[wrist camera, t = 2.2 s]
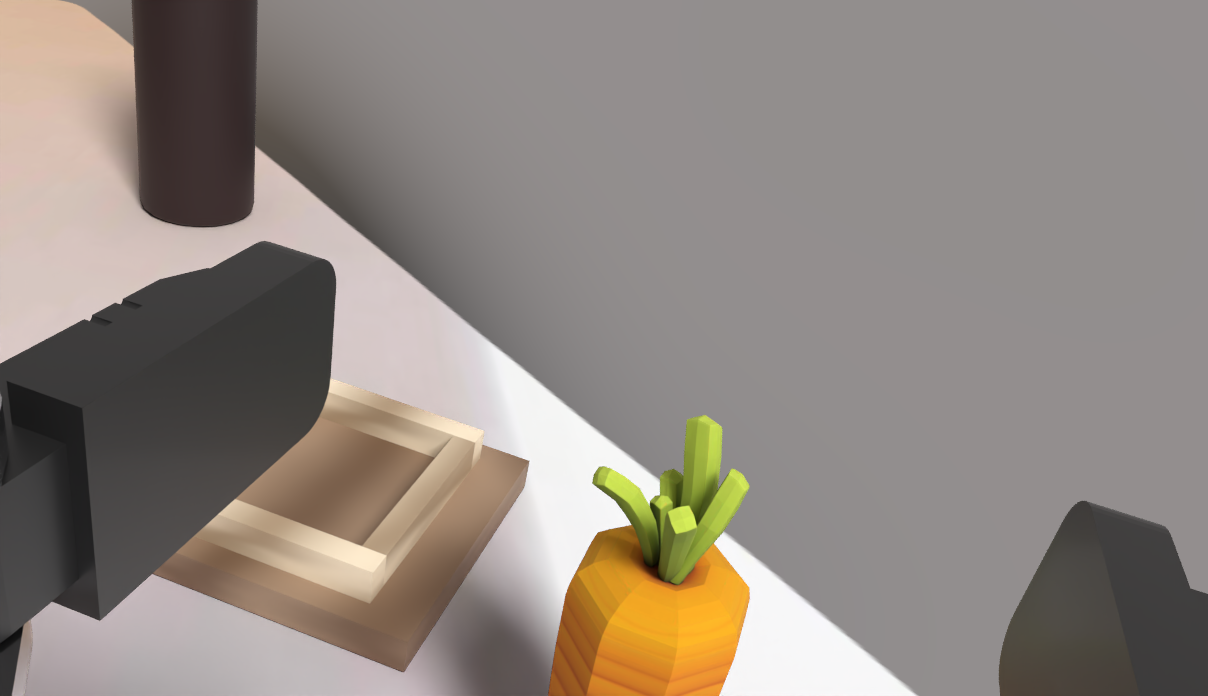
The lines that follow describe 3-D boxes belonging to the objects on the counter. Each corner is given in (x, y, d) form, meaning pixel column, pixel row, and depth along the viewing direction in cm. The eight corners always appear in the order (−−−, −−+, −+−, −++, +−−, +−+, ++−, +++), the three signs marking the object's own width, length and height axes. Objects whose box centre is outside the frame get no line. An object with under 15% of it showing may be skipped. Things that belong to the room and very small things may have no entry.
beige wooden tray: (68, 540, 37) (62, 477, 36) (256, 392, 47) (257, 339, 46) (403, 672, 35) (411, 610, 33) (524, 486, 45) (534, 434, 44)
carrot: (598, 945, 28) (732, 547, 20) (478, 825, 30) (560, 431, 23) (697, 835, 31) (841, 462, 24) (582, 736, 34) (681, 370, 27)
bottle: (138, 227, 59) (122, -132, 50) (142, 183, 65) (128, -149, 55) (256, 230, 62) (263, -110, 52) (250, 188, 67) (255, -128, 58)
